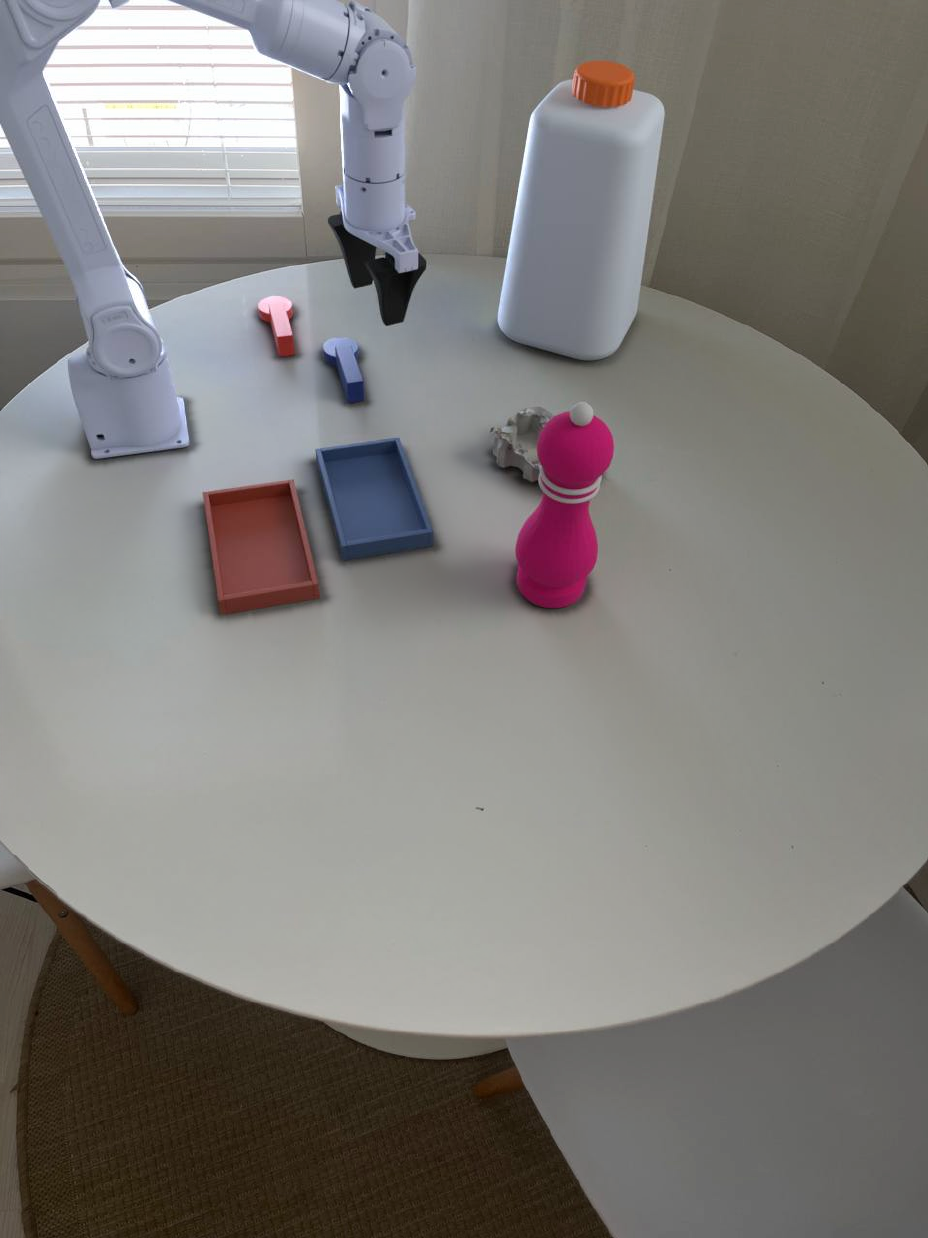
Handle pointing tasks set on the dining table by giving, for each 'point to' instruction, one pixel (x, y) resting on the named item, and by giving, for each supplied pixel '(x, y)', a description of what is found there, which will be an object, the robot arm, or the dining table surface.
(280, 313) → the red spoon
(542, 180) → the plastic bottle
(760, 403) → the dining table surface
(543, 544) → the pepper mill
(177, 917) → the dining table surface
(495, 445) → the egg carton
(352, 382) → the blue spoon
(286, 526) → the red tray
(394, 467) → the blue tray
